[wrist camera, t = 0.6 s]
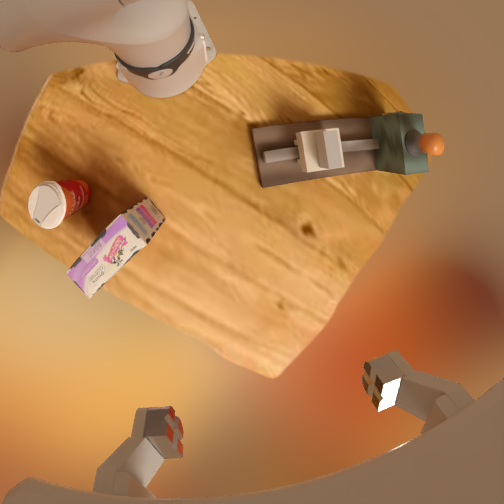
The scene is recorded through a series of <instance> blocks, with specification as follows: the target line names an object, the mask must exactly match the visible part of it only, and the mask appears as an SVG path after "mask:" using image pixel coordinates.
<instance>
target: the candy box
mask: <svg viewBox="0 0 504 504" xmlns="http://www.w3.org/2000/svg"><path fill="white" fill-rule="evenodd" d="M165 219H166V218H165V217H164V216H163V215H162V214H161V213H160V211H159V210H158V209H157V208H156V207H155V205H154V204H153V203H152V202H151V201H150V199H149V198H148V197H146V198H145V199H143V200H142V201H140V202H138V203H137V204H136V205H134V206H132V207H130V208H129V209H127V210H126V211H124V212H123V213H121V214H120V215H118V216H117V217H116V218H115V219H114V220H113V221H112V222H111V223H110V224H109V225H108V226H107V227H106V228H105V229H104V230H103V231H102V232H101V234H100V235H99V236H98V237H97V238H96V239H95V240H94V241H93V242H92V243H91V244H90V245H89V246H88V248H87V249H86V250H85V251H84V252H83V253H82V255H81V256H80V257H79V258H78V259H77V260H76V262H75V263H74V264H73V265H72V266H71V268H70V269H69V270H68V271H67V272H66V273H67V274H68V276H69V277H70V278H71V279H72V280H73V281H74V282H75V283H76V285H77V286H78V287H79V288H80V289H81V290H82V291H83V292H84V293H85V294H86V295H87V297H88V298H89V299H91V297H92V296H93V295H94V294H95V293H96V292H97V291H98V290H99V289H100V288H101V287H102V286H103V285H104V284H105V283H106V282H107V281H108V280H109V279H110V278H111V277H112V276H113V275H114V274H116V273H117V272H118V271H119V270H120V269H121V268H122V267H123V266H124V265H125V264H126V263H127V262H128V261H129V260H130V259H131V258H132V257H133V256H135V255H136V254H137V253H138V252H139V251H140V250H141V249H142V248H143V247H145V246H146V245H147V244H148V243H149V241H150V240H151V238H152V237H153V236H154V234H155V233H156V231H157V230H158V229H159V227H160V226H161V225H162V223H163V222H164V221H165Z"/></svg>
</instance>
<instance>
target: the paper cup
mask: <svg viewBox="0 0 504 504" xmlns="http://www.w3.org/2000/svg"><path fill="white" fill-rule="evenodd" d="M90 198H91V189H90V187H89V185H88V184H87V183H86V182H85V181H83V180H67V181H57V182H54V181H43V182H41V183H39V184H38V185H37V186H36V187H35V188H34V190H33V191H32V193H31V195H30V197H29V202H28V208H29V213H30V216H31V218H32V219H33V220H34V222H36V223H37V224H38V225H40V227H42V228H46V229H52V228H55V227H57V226H58V225H59V224H60V223H61V222H62V220H64V219H65V218H67V217H69V216H70V215H72V214H73V213H75V212H76V211H78V210H80V209H81V208H83V207H84V206H85V205H87V203H88V202H89V200H90Z"/></svg>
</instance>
